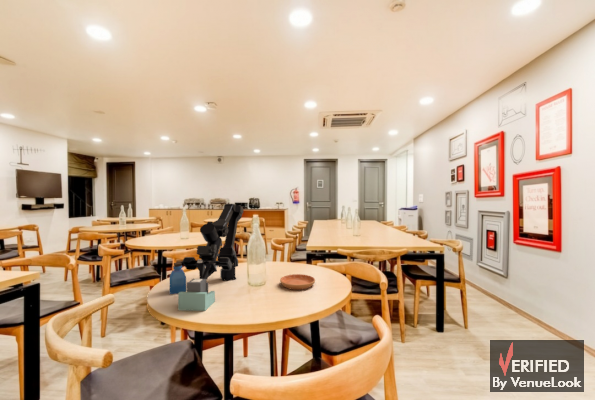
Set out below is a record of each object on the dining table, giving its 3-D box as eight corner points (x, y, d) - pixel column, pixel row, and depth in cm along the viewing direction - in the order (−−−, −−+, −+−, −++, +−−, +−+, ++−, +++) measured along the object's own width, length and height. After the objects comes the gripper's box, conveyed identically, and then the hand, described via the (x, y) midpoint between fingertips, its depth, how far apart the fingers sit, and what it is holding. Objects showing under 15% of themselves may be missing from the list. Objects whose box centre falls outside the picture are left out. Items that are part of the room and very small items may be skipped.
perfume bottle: (169, 294, 107) (169, 265, 107) (169, 290, 113) (169, 262, 113) (186, 292, 110) (186, 263, 110) (185, 287, 115) (184, 260, 116)
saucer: (321, 288, 114) (321, 281, 114) (287, 293, 108) (286, 286, 108) (306, 278, 129) (306, 272, 129) (275, 282, 123) (275, 276, 123)
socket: (190, 300, 100) (190, 285, 100) (214, 301, 99) (214, 285, 99) (178, 310, 91) (178, 293, 91) (205, 310, 91) (205, 293, 91)
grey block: (193, 301, 98) (193, 277, 98) (208, 302, 98) (208, 277, 98) (185, 308, 93) (185, 282, 93) (201, 308, 92) (201, 282, 92)
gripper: (184, 237, 104) (168, 272, 93) (229, 237, 103) (219, 272, 92) (193, 252, 112) (180, 286, 101) (235, 253, 111) (226, 287, 100)
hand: (201, 283), depth 98 cm, fingers closed, pressing on grey block
